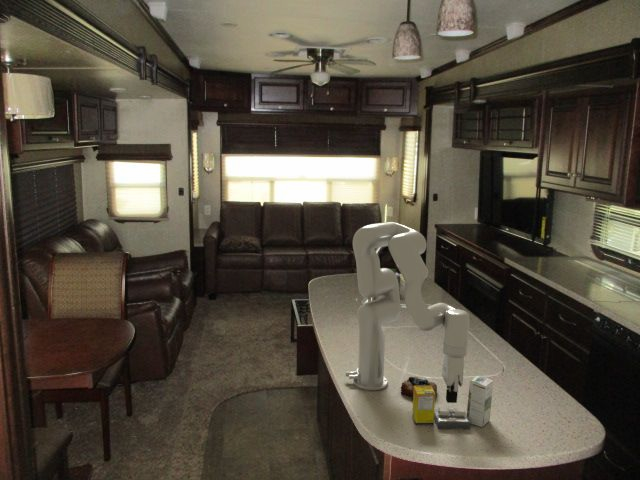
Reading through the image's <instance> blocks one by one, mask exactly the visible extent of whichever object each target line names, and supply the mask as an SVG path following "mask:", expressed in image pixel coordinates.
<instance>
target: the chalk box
mask: <svg viewBox="0 0 640 480" xmlns="http://www.w3.org/2000/svg"><path fill="white" fill-rule="evenodd" d="M389 269H390V270H392V271H393V272H394V273H395V275H396V277H397V279H398V284H399V294H400V295H401V275H400V274H399V273H398V272H397V269H395V268H389Z"/></svg>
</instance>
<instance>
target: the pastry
mask: <svg viewBox="0 0 640 480" xmlns="http://www.w3.org/2000/svg"><path fill="white" fill-rule="evenodd" d="M414 386H432V388H433V390H434V392H435V396H437V393H438V386H437V383H435V382H433V381H429V380H428V379H422V378H419V377H418V376H409V377H408V379H407V380H404V382H403V381H402V382H401V387H400V391H401V392H400V395H403V396H404V397H407V398H409V399H412V400H413V392H414Z"/></svg>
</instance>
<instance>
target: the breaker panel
mask: <svg viewBox="0 0 640 480" xmlns="http://www.w3.org/2000/svg"><path fill="white" fill-rule="evenodd" d="M438 409H439V408H437V409H436V408H435V409H434V423H435V424H436V428H437V429H438V430H470V429H471V423H470V421H469V419H468V417H467V412H465V414H464V416H455V414H454V413H449V415H439V413H438ZM449 411H454V409H449Z"/></svg>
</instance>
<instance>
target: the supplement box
mask: <svg viewBox="0 0 640 480" xmlns="http://www.w3.org/2000/svg"><path fill="white" fill-rule="evenodd" d="M435 405H436V395H435V392H434V390H433V388H432V386H414V392H413V399H412V411H411V412H412V418H413V421H414V424H415V425H416V426H418V425H419V426H420V425H421V426H424V425H425V426H426V425H430V426H431V425H432V426H433V425H434V423H435V419H434V409H436V408H435Z"/></svg>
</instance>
